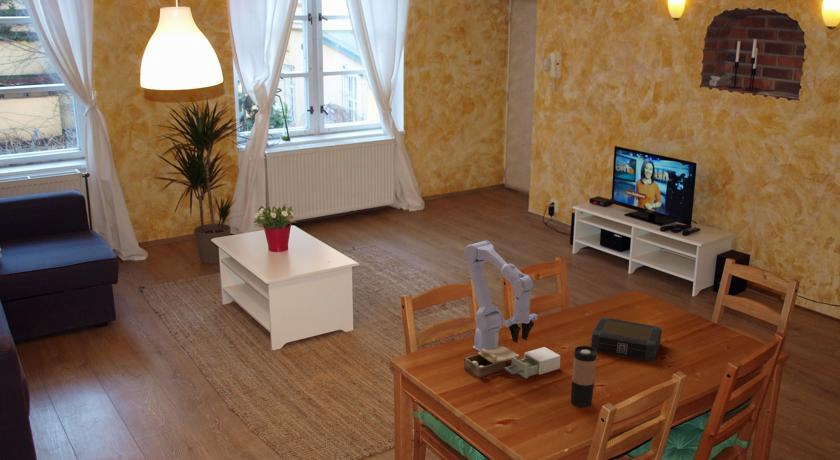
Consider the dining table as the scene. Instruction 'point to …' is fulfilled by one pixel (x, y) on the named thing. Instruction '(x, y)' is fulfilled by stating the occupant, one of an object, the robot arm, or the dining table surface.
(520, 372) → the drawer
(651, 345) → the cash box
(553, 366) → the white cabinet
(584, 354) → the travel mug
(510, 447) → the dining table surface
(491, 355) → the box lid
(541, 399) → the dining table surface
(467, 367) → the walnut box
